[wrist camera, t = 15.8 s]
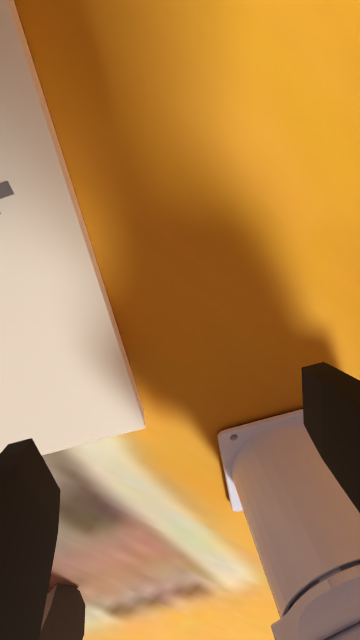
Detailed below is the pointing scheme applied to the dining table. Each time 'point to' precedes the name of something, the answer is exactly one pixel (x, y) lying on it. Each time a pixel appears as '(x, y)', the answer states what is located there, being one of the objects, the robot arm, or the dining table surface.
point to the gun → (63, 614)
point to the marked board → (50, 282)
